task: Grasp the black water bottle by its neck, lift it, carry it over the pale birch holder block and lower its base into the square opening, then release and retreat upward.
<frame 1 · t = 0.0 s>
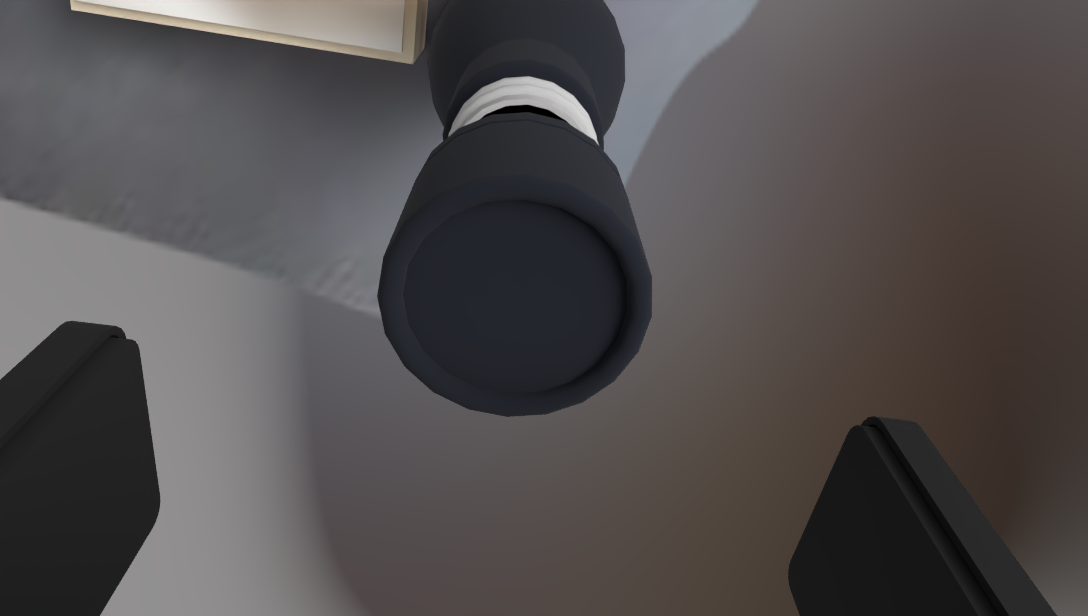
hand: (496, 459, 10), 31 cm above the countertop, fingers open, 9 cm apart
black water bottle: (529, 9, 36), on the countertop
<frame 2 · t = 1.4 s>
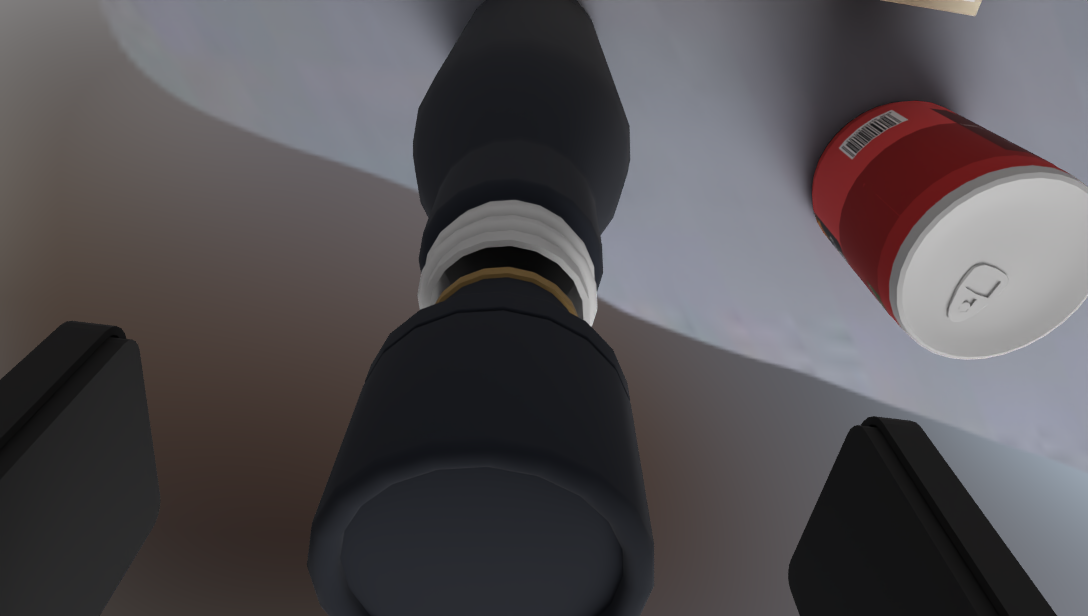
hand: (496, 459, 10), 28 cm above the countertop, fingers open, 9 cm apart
black water bottle: (531, 56, 34), on the countertop
canned food: (882, 174, 37), on the countertop
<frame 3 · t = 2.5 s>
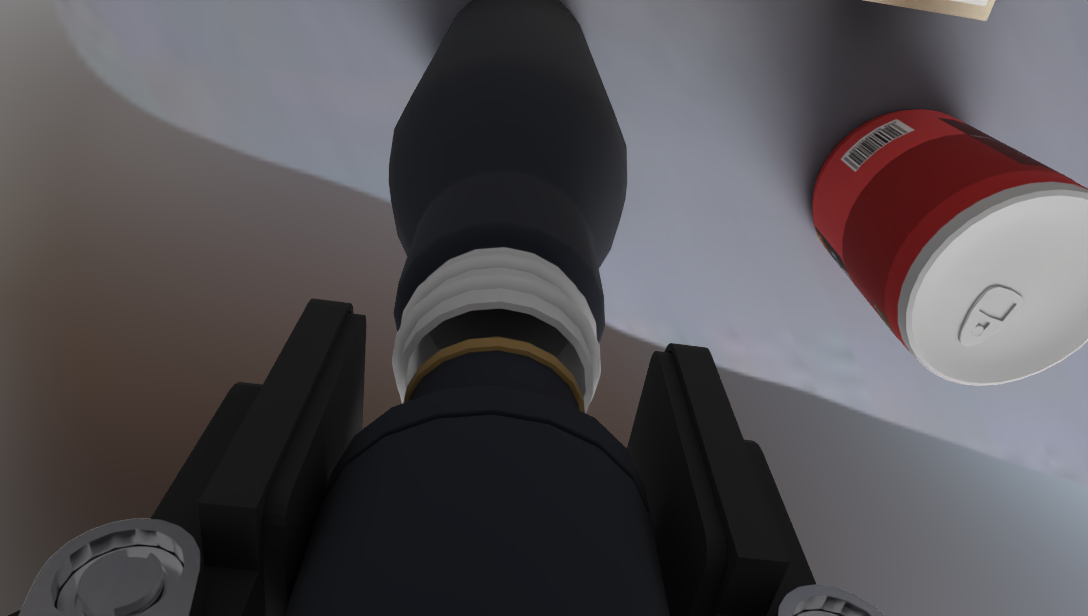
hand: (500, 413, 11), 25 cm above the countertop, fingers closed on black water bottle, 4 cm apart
black water bottle: (516, 63, 32), on the countertop, touching gripper
canned food: (886, 185, 35), on the countertop
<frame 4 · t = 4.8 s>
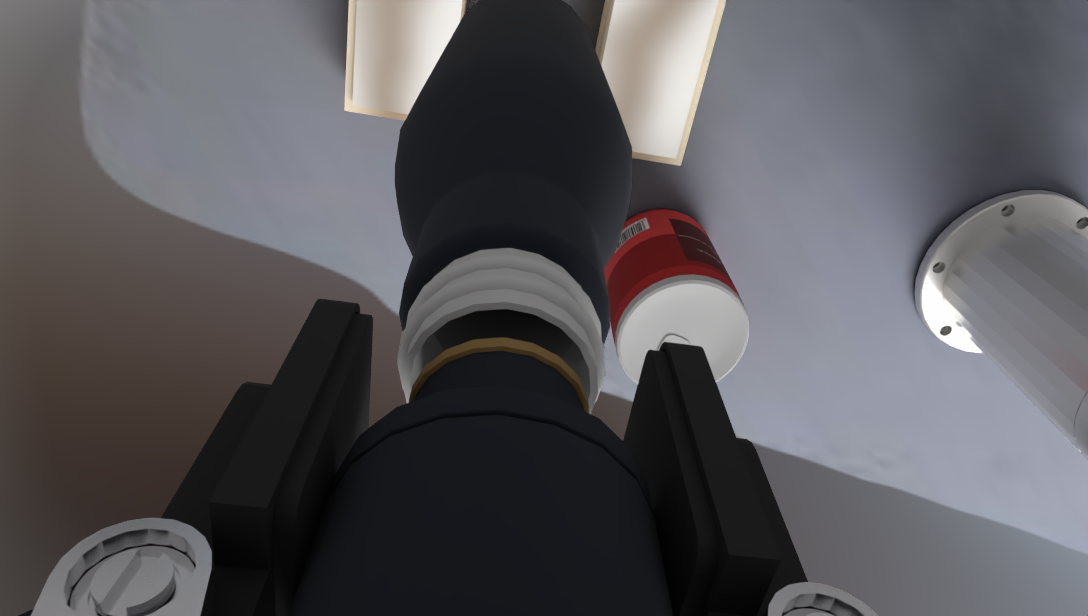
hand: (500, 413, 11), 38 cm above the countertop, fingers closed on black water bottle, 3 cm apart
black water bottle: (522, 64, 32), point 13 cm above the countertop, touching gripper
canned food: (653, 256, 52), on the countertop
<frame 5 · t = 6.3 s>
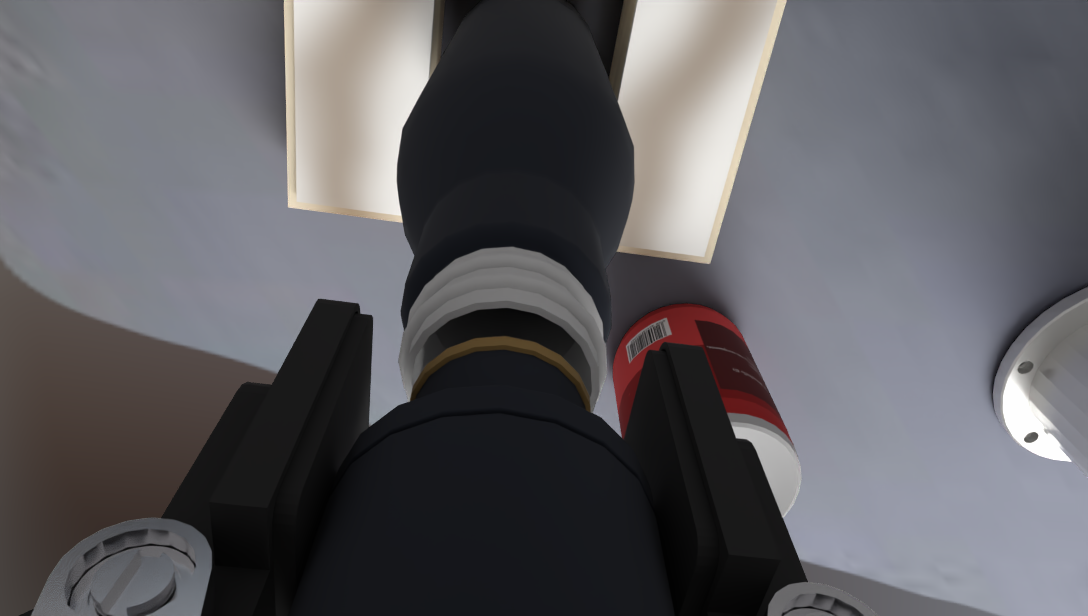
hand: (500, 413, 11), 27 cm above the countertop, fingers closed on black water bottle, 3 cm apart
black water bottle: (524, 64, 32), point 2 cm above the countertop, touching gripper
canned food: (676, 356, 43), on the countertop
holder block: (527, 56, 34), on the countertop
when the fingers open (26 cm above the countertop, at t = 7.1 s): black water bottle drops 1 cm, resting in holder block.
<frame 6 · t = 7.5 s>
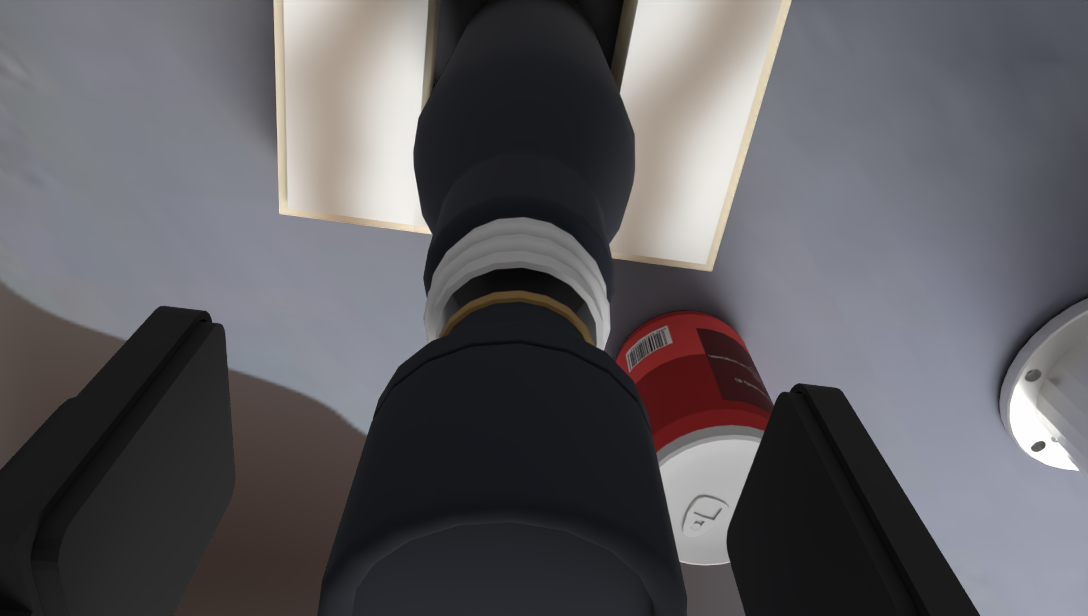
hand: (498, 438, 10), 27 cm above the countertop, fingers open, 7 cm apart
black water bottle: (529, 60, 34), resting in holder block
canned food: (677, 363, 42), on the countertop
holder block: (524, 58, 34), on the countertop
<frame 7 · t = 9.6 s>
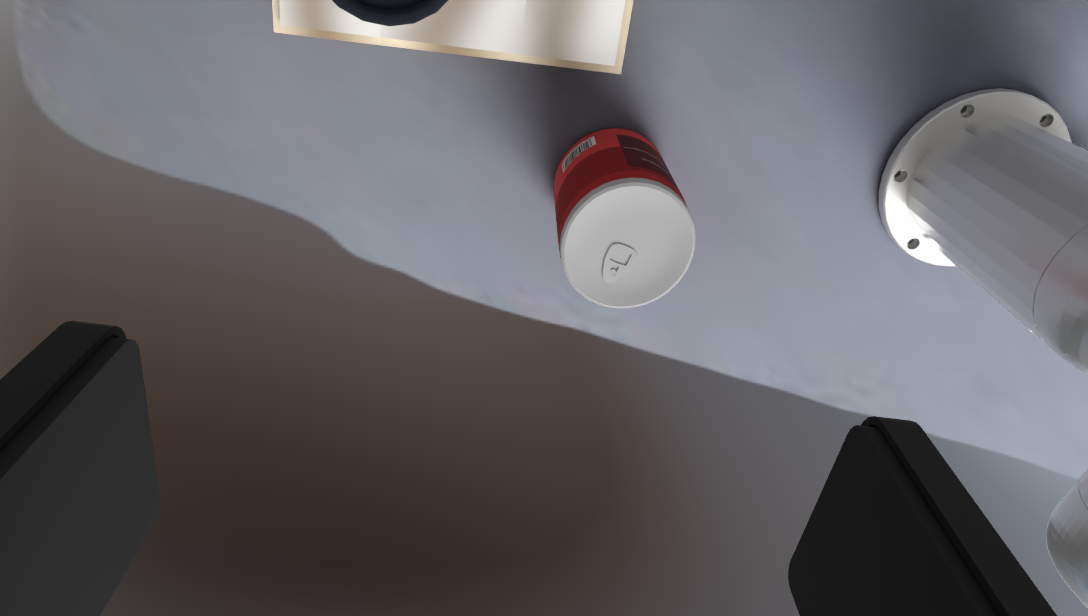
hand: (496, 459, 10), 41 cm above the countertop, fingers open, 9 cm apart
canned food: (608, 180, 51), on the countertop
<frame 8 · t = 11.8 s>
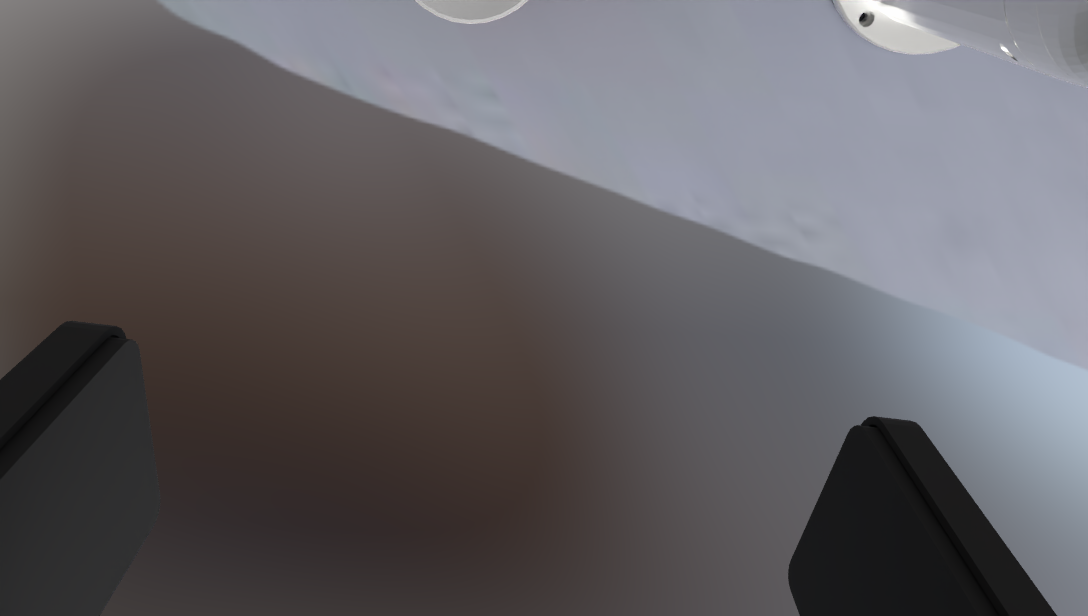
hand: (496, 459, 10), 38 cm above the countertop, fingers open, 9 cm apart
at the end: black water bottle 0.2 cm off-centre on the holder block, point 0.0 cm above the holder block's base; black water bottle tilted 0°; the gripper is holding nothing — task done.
